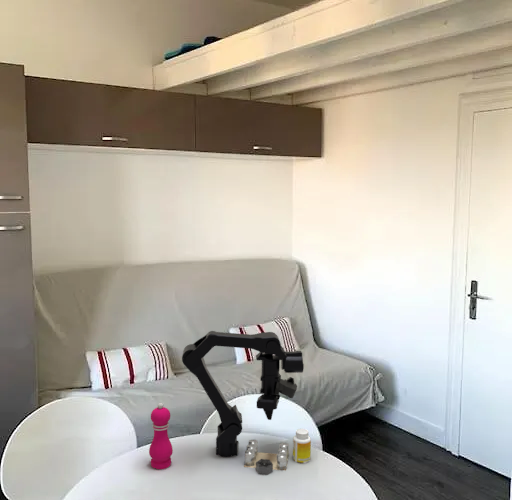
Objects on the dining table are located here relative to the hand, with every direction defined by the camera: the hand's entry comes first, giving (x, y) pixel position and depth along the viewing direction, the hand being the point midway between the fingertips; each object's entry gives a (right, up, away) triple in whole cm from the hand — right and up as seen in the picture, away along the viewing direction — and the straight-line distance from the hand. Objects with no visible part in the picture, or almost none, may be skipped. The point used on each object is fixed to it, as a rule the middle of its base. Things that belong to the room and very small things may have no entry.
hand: (269, 419), depth 186 cm
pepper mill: (-34, -13, -6) cm, 37 cm away
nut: (-2, -13, -11) cm, 16 cm away
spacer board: (-1, -13, -6) cm, 14 cm away
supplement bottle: (+10, -13, -3) cm, 17 cm away
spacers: (-1, -12, -4) cm, 12 cm away
